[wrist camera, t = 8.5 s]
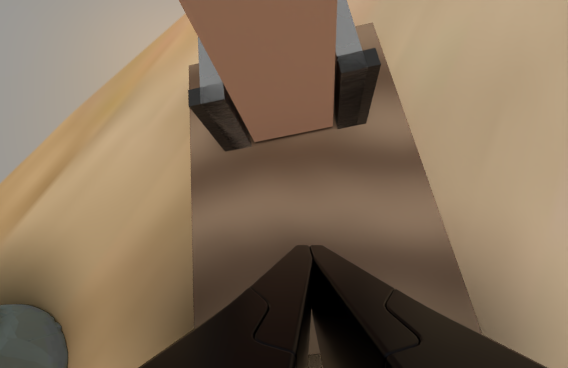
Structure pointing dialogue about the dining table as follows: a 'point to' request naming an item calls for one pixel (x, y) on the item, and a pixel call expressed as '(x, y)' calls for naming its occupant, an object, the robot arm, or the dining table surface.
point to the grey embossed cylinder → (30, 338)
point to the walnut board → (322, 207)
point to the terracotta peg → (272, 60)
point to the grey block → (347, 88)
